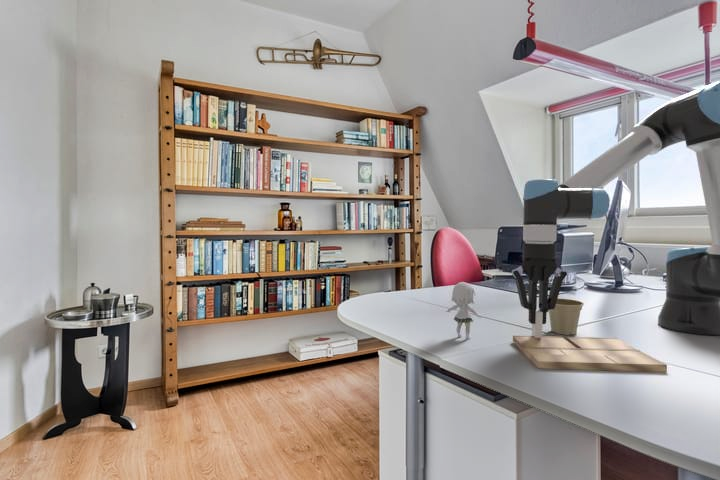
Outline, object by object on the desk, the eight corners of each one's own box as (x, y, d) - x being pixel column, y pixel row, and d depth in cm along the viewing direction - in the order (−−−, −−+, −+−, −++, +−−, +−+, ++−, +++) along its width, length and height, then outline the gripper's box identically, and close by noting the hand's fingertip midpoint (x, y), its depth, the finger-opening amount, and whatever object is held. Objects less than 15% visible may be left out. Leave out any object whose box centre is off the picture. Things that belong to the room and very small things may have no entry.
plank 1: (523, 352, 87) (523, 346, 87) (512, 341, 95) (512, 335, 95) (576, 354, 86) (576, 347, 86) (561, 342, 94) (561, 336, 94)
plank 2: (581, 354, 86) (582, 348, 86) (566, 342, 94) (566, 336, 94) (636, 355, 85) (636, 349, 85) (616, 343, 93) (616, 337, 93)
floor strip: (638, 356, 85) (638, 349, 85) (666, 372, 76) (666, 364, 76) (523, 353, 87) (523, 347, 87) (538, 368, 78) (538, 360, 78)
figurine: (486, 339, 98) (486, 282, 97) (475, 345, 93) (476, 285, 93) (450, 332, 105) (451, 279, 104) (439, 337, 100) (439, 281, 100)
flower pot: (589, 338, 99) (589, 305, 98) (550, 336, 101) (551, 304, 100) (576, 328, 108) (576, 298, 108) (541, 327, 110) (541, 297, 109)
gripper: (560, 242, 96) (557, 332, 97) (507, 241, 97) (505, 331, 98) (573, 243, 88) (571, 342, 89) (516, 243, 90) (514, 340, 91)
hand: (536, 336), depth 94 cm, fingers closed
